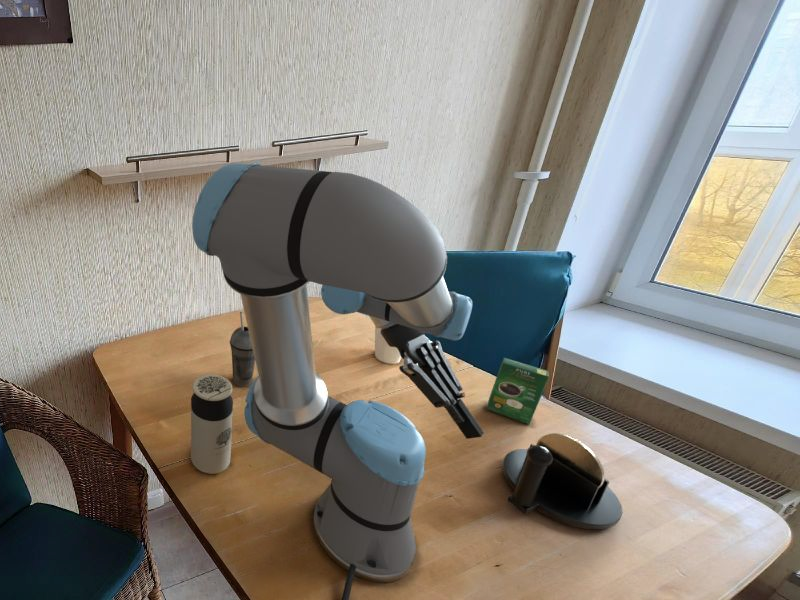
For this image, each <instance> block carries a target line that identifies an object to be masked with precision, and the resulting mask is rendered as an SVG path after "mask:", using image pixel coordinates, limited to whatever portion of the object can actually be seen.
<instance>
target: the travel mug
mask: <svg viewBox="0 0 800 600" xmlns="http://www.w3.org/2000/svg"><path fill="white" fill-rule="evenodd" d="M191 388H192V391H193V393H192V395H191V397H190V460H191V462H192V465H193V466H194V467H195V468H196V469H197V470H198V471H200V472H202V473H206V474H209V475H213V474H220V473H222V472H224V471H226V470H227V468H228V467H229V466H230V463H231V454H232V433H233V431H232V430H233V413H234V410H233V409H234V399H233V396H231V394H232V392H233V385H232V382H230V380H229V379H227V378H226V377H224V376H221V375H219V374H213V373H212V374H203V375H200V376H198V377H197V378H196V379H194V381H193V382H192V387H191Z"/></svg>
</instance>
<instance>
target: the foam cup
mask: <svg viewBox="0 0 800 600" xmlns="http://www.w3.org/2000/svg"><path fill="white" fill-rule="evenodd" d="M381 330H382V329H381V328H376V326H375V325H374V356H375V358H376V359H377V360H378V361H380V362H383V363H386V364H389V365H390V364H391V365H396V364H399V363H400V362H401V359H402V357H401V356H400V353H399V351H398V349H397V348H396V347H390V346H389V345H388V344H387V342H386V341H385V339H384V338H383V336H382V335H381V333H380V332H381Z"/></svg>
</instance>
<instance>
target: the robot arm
mask: <svg viewBox="0 0 800 600" xmlns="http://www.w3.org/2000/svg"><path fill="white" fill-rule="evenodd" d="M192 214H193V215H192V223H191V229H192V238H193V241H194V243H195V246H196V247H197V248H198V250H199V251H201V252H203V253H205V255H207V256H209V257H210V256H211V257H214V256H215V257H217V258H218V259H219V262H220V267H221V270H222V274H223V278H224V280H225V282H226V284H227V285H228V287H230V289H232V290H233V291H234V292H236V293H238V294H240V299H241V303H242V307H243V312H244V316H245V321H246V325H247V326H246V327H248V330H249V335H250V339H251V344H252V348H253V352H254V357H255V365H256V369H257V374H258V376H257V377H256V378H255V379H254V381H252V382H251V384H250V387H249V389H248V391H247V394H246V397H245V403H246V405H245V406H244V409H243V410H244V411H243V413H244V420H245V424H246V425H247V428H248V429H249V431H250V432H251V433H252V434H254V435H255V436H256V437H258V438H259V439H260V440H261V441H262V442H264V443H266V444H268V445H271V446H273V447H275V448H276V449H278V450H280V451H282V452H284V453H286V454H287V455H290V456H291V457H292V458H295V459H296V460H298V461H300V462H301V463H303V464H305V465H307V466H309V467H310V468H312V469H314V470H315V471H317V472H319V473H321V474H323V475H324V476H326V477H327V478H329V479H331V481H330V483H329V485H328V486H327V487H326V489H325V490H324V492H323V493H321V495H320V496H319V498H318V500H317V502H316V504H315V507H314V511H313V528H314V532H315V536H316V538H317V541H318V542H319V544H320V546H321V547H322V549H323V550H324V551H325V553H326V554H327V555H328V556H329V558H331V560H333V562H335V563H336V564H337V565H338V566H340V568H342V569H343V570H345V571H347V575H346V579H345V583H344V587H343V593H342V596H341V600H349V599H350V595H351V590H352V585H353V581H354V578H355V577H358V578H360V579H363V580H366V581H370V582H375V583H392V582H396V581H398V580H400V579H402V578H404V577H405V576H406V575H408V573H410V570H411V569H412V567H413V565H414V561H415V557H416V553H417V546H416V545H417V544H416V537H415V534H414V529H413V523H412V518H411V517H412V512H413V509H414V505H415V500H416V496H417V493H418V488H419V486H420V485H419V484H420V482H421V480H422V479H423V477H424V474H425V461H426V455H427V450H426V449H427V448H426V444H425V441H424V438H423V436H422V434H421V433H420V432H419V431H418V429H417V426H415V424H414V423H413V422H412V421H411V420H410V419H409V418H408V417H406V416H405V415H404V414H403V413H401V412H400V411H398V410H397V409H394V408H393V407H391V406H389V405H387V404H384V403H382V402H379V401H375V400H369V401H368V402H367V401H366V400H364V399H358V400H354V401H351V402H349V403H348V404H346V403H343V402H342V401H340V400H337V399H335V398H333V397H330V396H329V395H328V390H327V386H326V383H325V382H324V380H323V379H322V377H321V376H320V375H319V374H318V373H317V372H316V367H315V355H314V346H313V344H314V343H313V337H312V324H311V314H310V306H309V305H310V304H309V294H308V287H307V286H308V284H309V283H315V284H319V285H320V286H321V288H320V289H321V290H320V295H321V299H322V302H323V303H324V305H325V306H326V307H327V309H328V310H330V311H331V312H333V313H335V314H338V315H349V314H354V313H359V314H363V315H366V316H368V317H369V318H370V321H372V323H373V325H374V327H375V326H376V328H381V329H382V330H381V332H380V333H381V335H382V336H383V338H384V339H385V341H386V342H387V344H388V345H389V346H390V347H396V348H397V349H398V351H399V353H400V356H401V357H402V358H401V359H402V360H403V364H402V365H400V366H399V367H398V368H399V371H400V372H401V373H402V374H404V375H405V376H406V377H408V378H409V379H410V381H411V382H412V383H413V384H414V385H415V386H416V387H417V389H418V390H419V391H420V392H421V393H422V394H423V396H424V397H425V398H426V399H427V400H428V401H429V402H430V403H431V404H432V405H433V407H434V408H435V409H439V408H444V409H445V410H446V412H447V413H448V414H449V416H450V417H451V419H452V421H453V422H454V423H455V424H456V426H457V427H458V429H459V430H460V432H461V433H462V434H463V436H464V437H465V439H466V440H469V439H475V438H482V437H483V435H484V434H485V431H484V430H483V428H482V427H481V425H480V424H479V423H478V422H477V420H476V419H475V418H474V415H472V413H471V411H470V410H469V409H468V407H467V405H466V404H465V402H464V401H463V400H462V398H465V397H466V393H465V392H462V391H463V386H462V384H461V382H460V381H459V379H458V377H457V375H456V374H455V371H454V370H453V368H452V366H451V364H450V362H449V360H448V358H447V357H446V355H445V353H444V351H443V348H442V345H441V342H440V340H433V341H431V340H430V339H429V338H428V337H427V336H426V335H425V334H427V335H432V337H436V338H443V339H447V340H450V341H459V340H461V339H462V338H463V336H464V335H465V332H466V329H467V326H468V324H469V321H470V317H471V314H472V311H473V310H472V309H473V305H474V304H473V300H472V299H471V297H469V296H467V295H463V294H460V293H457V292H456V291H449V289H448V287H447V283H446V281H445V278H444V275H445V273H446V270H447V264H448V255H447V254H448V253H447V250H446V245H445V242H444V239H443V237H442V235H441V233H440V231H439V229H438V228H437V227H436V225H435V224H434V223H433V222H432V220H431V219H430V218H429V217H428V216H427V215H426V214H425V213H424V212H423V211H421V210H420V209H419V208H418V207H416V206H415V205H414V204H413V203H412V202H410V201H409V200H407V199H406V198H405V197H404V196H402V195H400V194H399V193H398V192H396V191H394V190H392V189H390V188H389V187H387V186H386V185H383V184H382V183H380V182H378V181H375V180H372V179H371V178H368V177H365V176H361V175H357V174H354V173H352V172H351V173H350V172H342V171H341V172H340V171H326V170H317V169H308V168H307V169H305V168H296V167H295V168H293V167H283V166H274V165H263V164H262V163H261V162H253V163H237V162H236V163H228V164H226V165H223V166H222V167H220V168H218V169H217V170H216V171H215V172H214V173H213V174H211V176H210V177H209V178H208V179H207V180H206V182H205V184H204V185H203V187H202V189H201V191H200V193H199V195H198V199H197V201H196V204H195V205H194V210H193V213H192Z"/></svg>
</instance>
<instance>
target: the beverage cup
mask: <svg viewBox="0 0 800 600" xmlns="http://www.w3.org/2000/svg"><path fill="white" fill-rule="evenodd" d="M239 316H240V317H239V318H240V327H238V328H236V329H234V330H233V332H232V334H231V335H230V340H229V345H230V346H229V347H230V351H231V365H232V377H233V383H234V385H236V386H238V387H243V388H246V387H249V386H251V385H252V379H253V376H254V370H255V365H256V361H255V357H254V352H253V348H252V344H251V339H250V335H249V330H248V326H244V317H243V312H242V311H240V312H239Z"/></svg>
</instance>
